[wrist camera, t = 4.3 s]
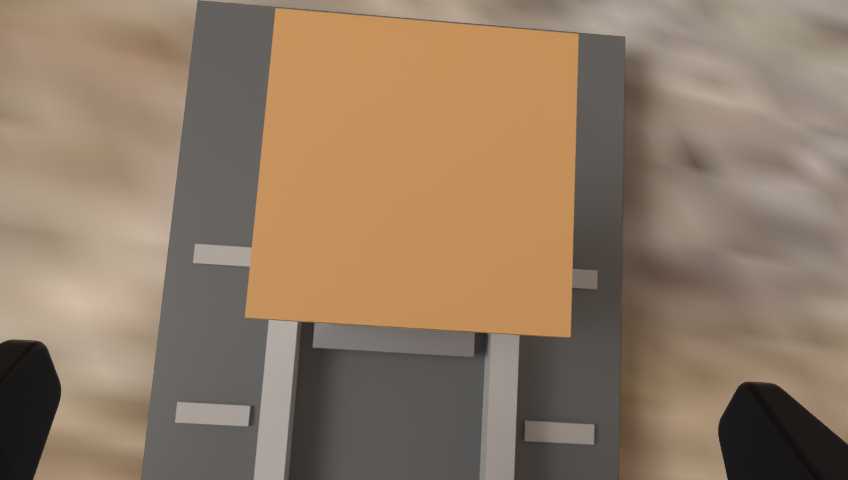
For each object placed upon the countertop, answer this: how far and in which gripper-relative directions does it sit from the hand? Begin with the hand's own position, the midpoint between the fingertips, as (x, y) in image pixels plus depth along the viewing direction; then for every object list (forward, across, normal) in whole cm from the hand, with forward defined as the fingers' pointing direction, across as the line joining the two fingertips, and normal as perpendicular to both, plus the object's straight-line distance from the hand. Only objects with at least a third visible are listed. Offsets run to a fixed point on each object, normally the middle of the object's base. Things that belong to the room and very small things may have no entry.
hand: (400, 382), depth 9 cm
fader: (+8, 0, +4) cm, 9 cm away
